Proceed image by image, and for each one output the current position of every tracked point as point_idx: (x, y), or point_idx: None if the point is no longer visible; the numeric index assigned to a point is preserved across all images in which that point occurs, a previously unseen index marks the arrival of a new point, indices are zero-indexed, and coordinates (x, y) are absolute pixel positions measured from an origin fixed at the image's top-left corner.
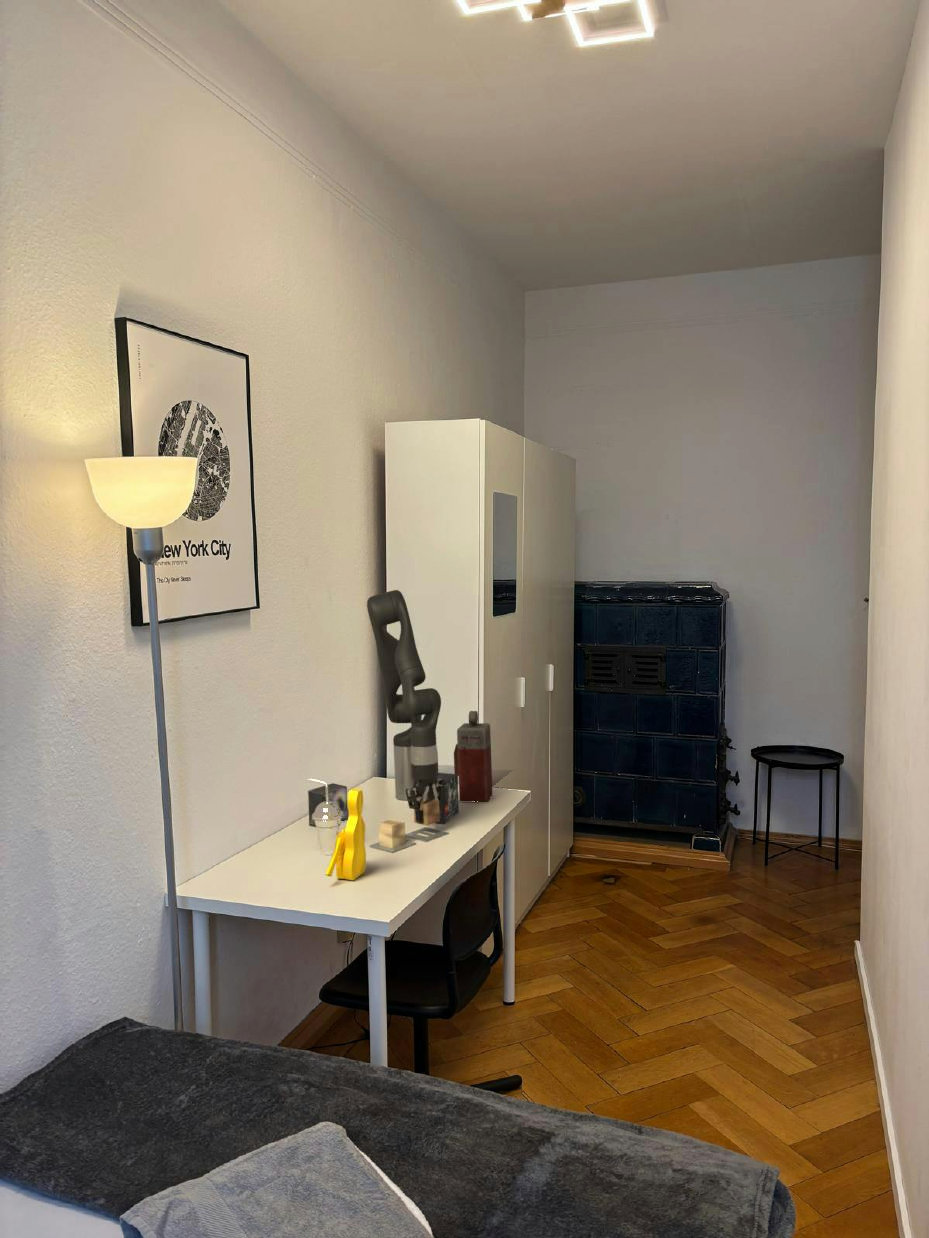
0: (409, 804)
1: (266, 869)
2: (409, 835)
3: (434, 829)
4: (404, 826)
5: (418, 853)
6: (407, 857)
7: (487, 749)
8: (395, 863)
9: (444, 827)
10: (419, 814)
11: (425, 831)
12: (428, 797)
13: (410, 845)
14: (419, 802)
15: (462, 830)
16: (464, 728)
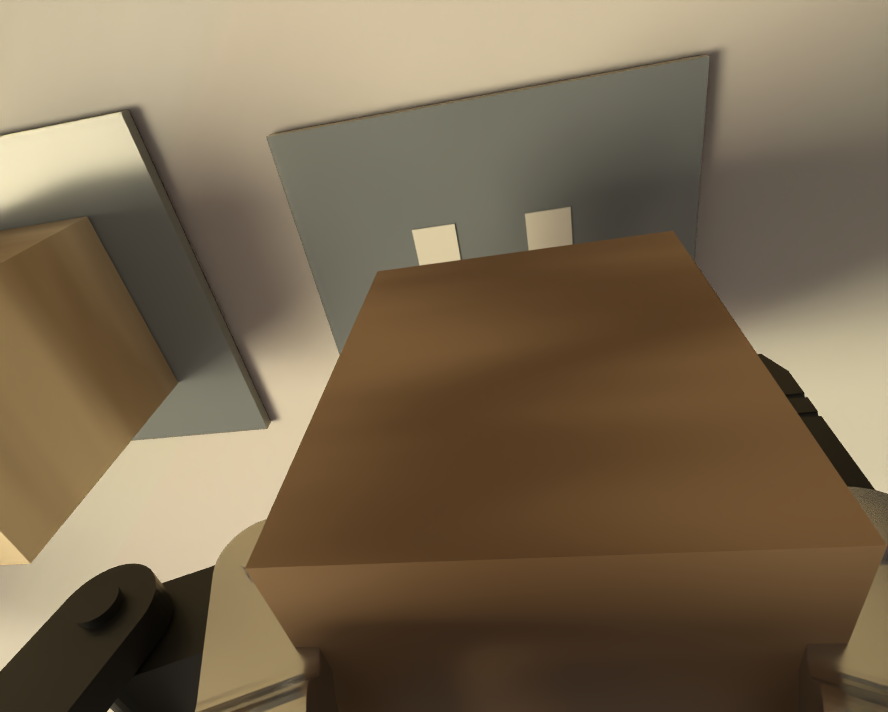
0: (14, 698)
1: None
2: (322, 208)
3: (686, 240)
4: (62, 514)
5: (198, 549)
6: (105, 551)
7: None
8: (6, 569)
9: (862, 225)
10: None
11: (552, 229)
12: (807, 686)
13: (202, 432)
14: (345, 678)
15: (844, 430)
16: None
